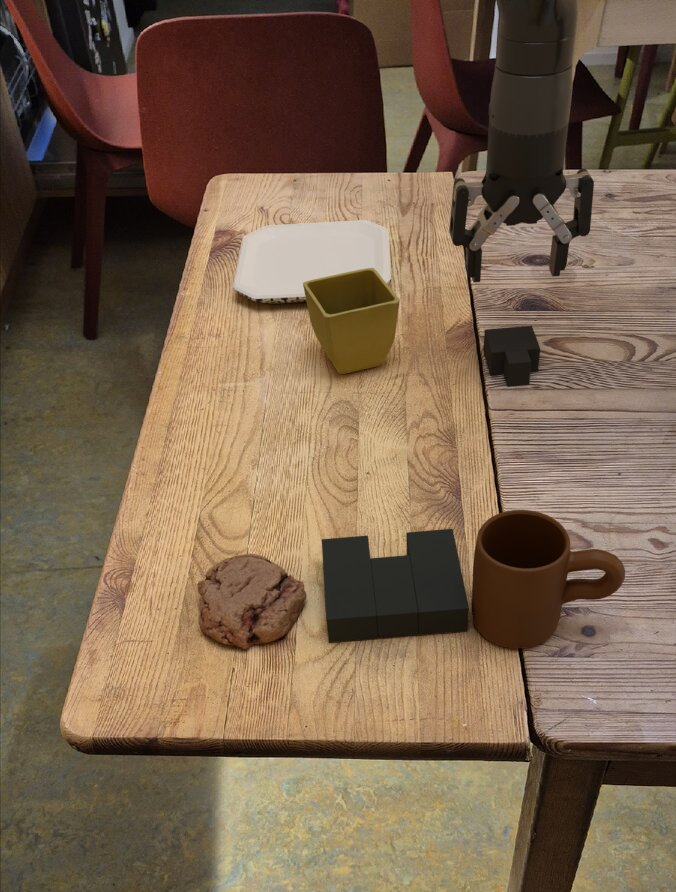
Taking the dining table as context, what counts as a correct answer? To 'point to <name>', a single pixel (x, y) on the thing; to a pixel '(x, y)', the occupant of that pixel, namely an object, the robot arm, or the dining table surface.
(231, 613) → the cookie
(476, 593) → the mug
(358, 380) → the dining table surface
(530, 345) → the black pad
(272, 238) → the plate
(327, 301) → the flower pot
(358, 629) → the base pad
